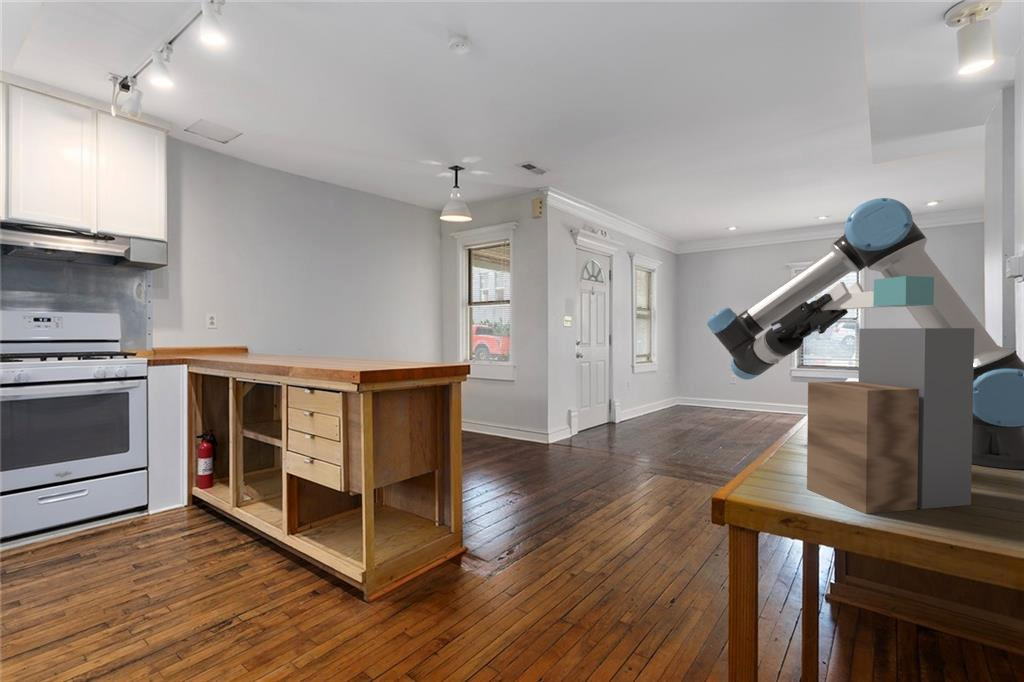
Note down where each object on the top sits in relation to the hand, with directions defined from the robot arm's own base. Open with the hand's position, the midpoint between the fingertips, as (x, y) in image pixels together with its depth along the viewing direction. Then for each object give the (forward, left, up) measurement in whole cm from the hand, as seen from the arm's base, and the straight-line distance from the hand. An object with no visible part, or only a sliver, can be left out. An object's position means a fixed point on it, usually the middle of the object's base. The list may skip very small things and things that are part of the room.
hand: (852, 287), depth 96 cm
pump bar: (0, +2, -4) cm, 5 cm away
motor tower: (0, +12, -38) cm, 40 cm away
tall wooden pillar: (+11, +12, -38) cm, 42 cm away
